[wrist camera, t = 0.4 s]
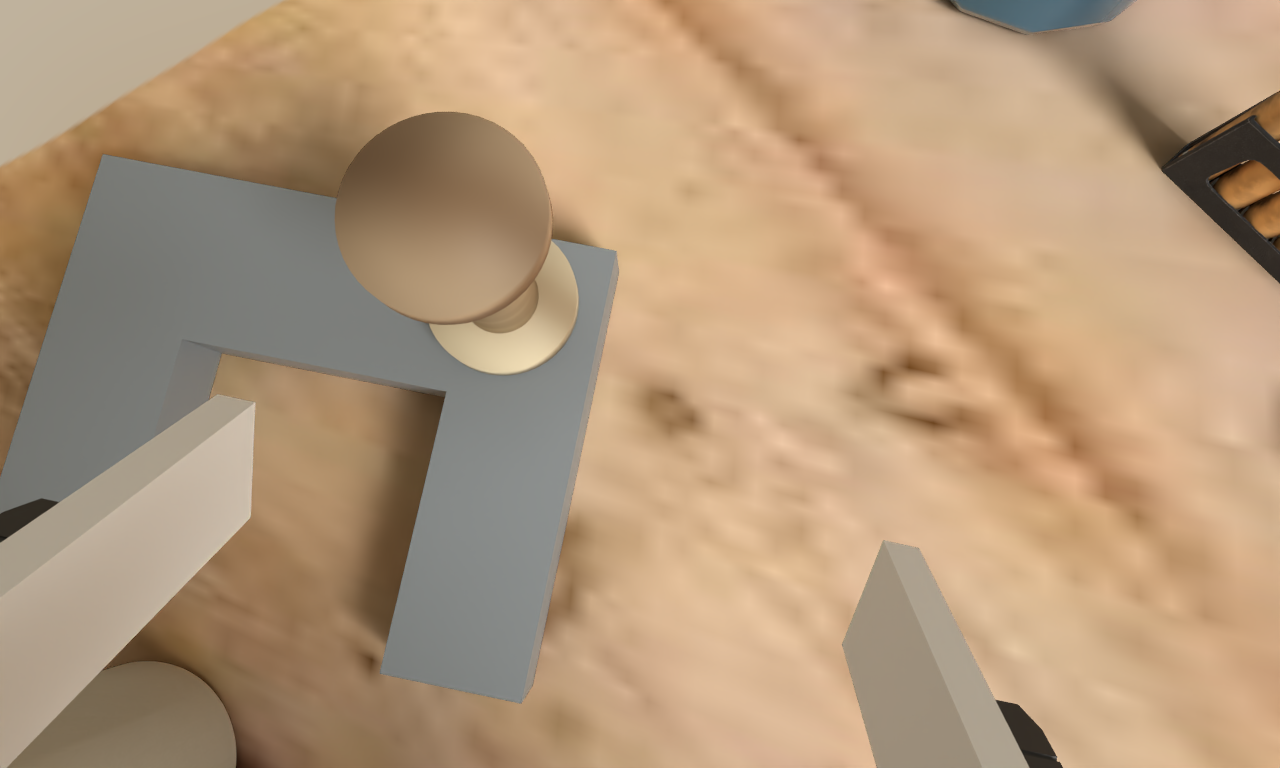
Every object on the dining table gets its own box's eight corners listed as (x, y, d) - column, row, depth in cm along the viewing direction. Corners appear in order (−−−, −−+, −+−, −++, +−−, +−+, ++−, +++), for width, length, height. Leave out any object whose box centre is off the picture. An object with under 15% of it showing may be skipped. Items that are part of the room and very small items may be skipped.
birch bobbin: (561, 388, 31) (523, 335, 21) (415, 360, 31) (310, 294, 22) (592, 246, 32) (568, 132, 22) (450, 219, 32) (364, 94, 22)
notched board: (532, 685, 32) (521, 703, 29) (26, 578, 33) (-35, 586, 30) (618, 272, 35) (616, 251, 32) (147, 182, 36) (102, 153, 33)
